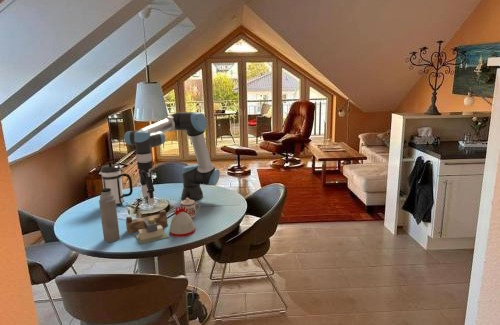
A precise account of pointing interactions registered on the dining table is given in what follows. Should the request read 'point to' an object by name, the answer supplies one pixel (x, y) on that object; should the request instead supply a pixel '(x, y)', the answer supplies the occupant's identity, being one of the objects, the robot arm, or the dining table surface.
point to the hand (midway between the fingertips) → (148, 200)
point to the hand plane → (138, 223)
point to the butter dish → (151, 235)
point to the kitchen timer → (181, 223)
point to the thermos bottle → (109, 216)
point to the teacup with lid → (190, 207)
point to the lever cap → (150, 225)
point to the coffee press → (115, 181)
